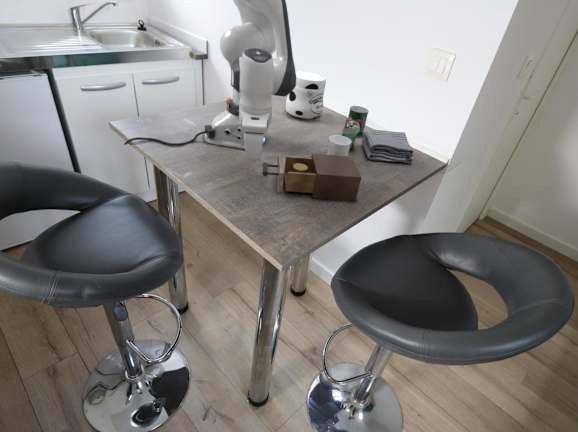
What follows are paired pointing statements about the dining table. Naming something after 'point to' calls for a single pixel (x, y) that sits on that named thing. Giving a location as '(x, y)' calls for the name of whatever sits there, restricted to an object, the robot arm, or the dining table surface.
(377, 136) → the towel
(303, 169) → the tea tin
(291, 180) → the drawer
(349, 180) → the cabinet
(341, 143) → the white cup
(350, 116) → the canned tomato
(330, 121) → the dining table surface
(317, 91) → the milk container
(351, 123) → the food container
